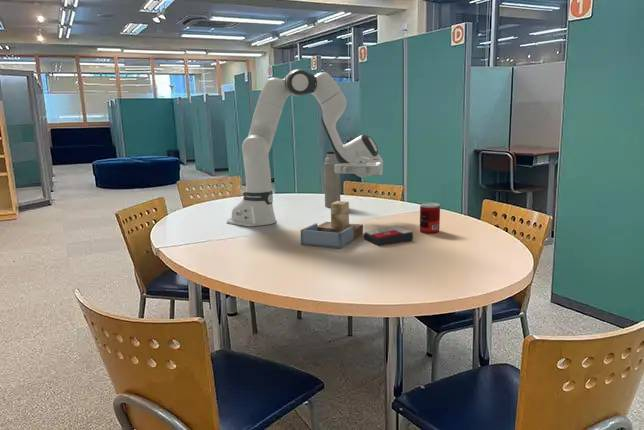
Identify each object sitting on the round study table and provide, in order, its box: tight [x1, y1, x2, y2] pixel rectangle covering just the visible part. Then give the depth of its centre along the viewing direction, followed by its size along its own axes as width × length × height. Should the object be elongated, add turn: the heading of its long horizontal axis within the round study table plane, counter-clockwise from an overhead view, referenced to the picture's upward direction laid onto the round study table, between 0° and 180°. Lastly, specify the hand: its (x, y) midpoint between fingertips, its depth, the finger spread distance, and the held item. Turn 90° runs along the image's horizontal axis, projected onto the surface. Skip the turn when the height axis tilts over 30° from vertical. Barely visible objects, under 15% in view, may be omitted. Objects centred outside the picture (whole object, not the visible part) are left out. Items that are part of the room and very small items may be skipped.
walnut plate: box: [317, 221, 364, 242], centre depth 195 cm, size 16×10×4 cm, turn 64°
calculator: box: [363, 225, 414, 247], centre depth 187 cm, size 11×4×15 cm
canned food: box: [419, 202, 441, 235], centre depth 198 cm, size 8×8×11 cm
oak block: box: [330, 200, 350, 227], centre depth 195 cm, size 5×6×9 cm
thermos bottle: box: [323, 150, 341, 209], centre depth 253 cm, size 8×8×28 cm
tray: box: [300, 222, 354, 249], centre depth 185 cm, size 16×12×6 cm
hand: (351, 170), depth 202 cm, fingers open, 5 cm apart
